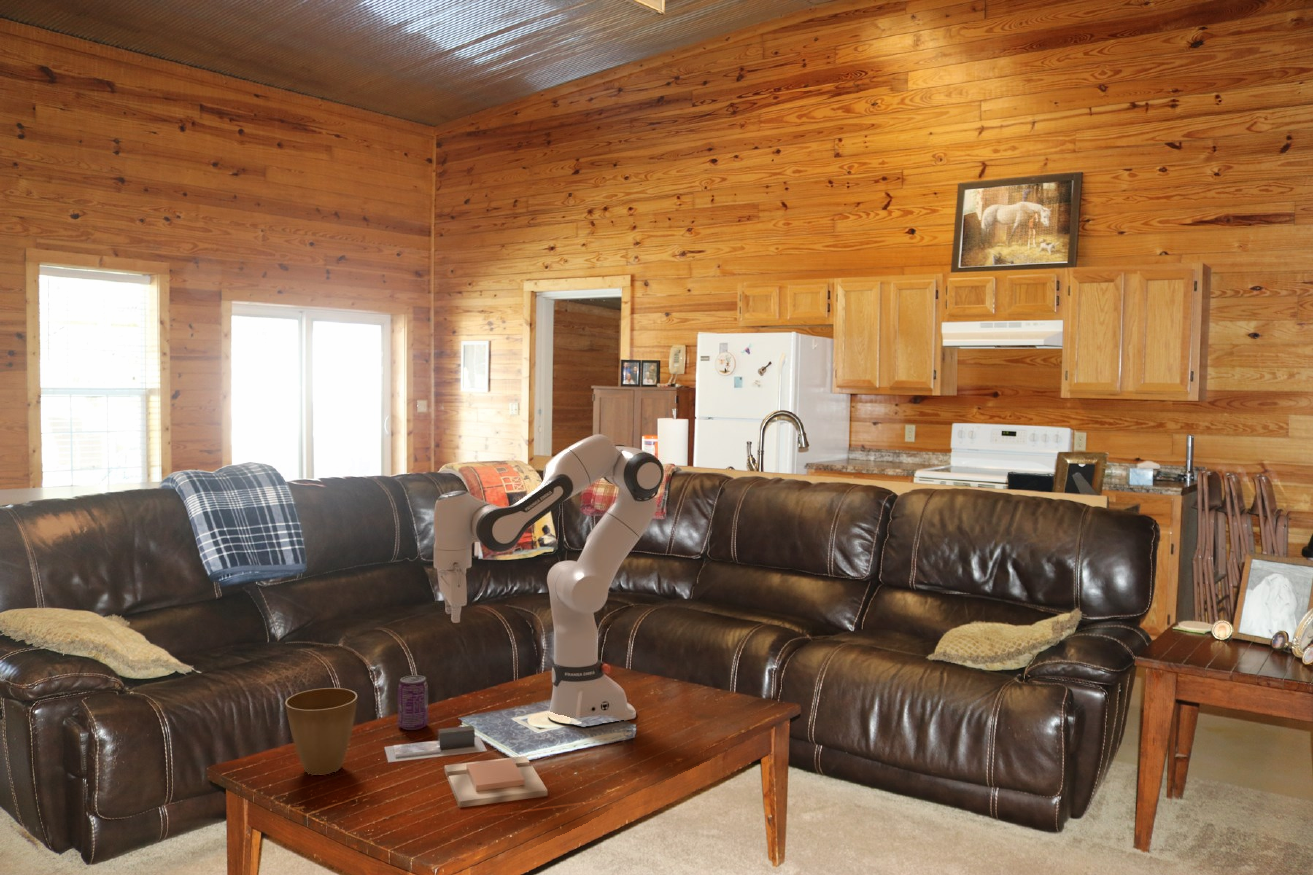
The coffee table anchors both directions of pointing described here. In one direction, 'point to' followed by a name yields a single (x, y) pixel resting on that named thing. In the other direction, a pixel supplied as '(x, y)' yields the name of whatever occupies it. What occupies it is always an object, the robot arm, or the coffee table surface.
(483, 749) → the tool mat
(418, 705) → the beverage can
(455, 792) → the tile stand
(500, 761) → the tile
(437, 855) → the coffee table surface
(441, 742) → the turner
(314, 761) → the plant pot
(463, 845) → the coffee table surface
